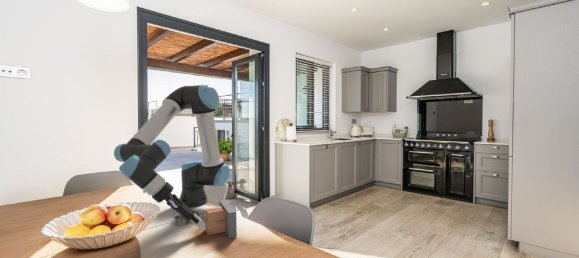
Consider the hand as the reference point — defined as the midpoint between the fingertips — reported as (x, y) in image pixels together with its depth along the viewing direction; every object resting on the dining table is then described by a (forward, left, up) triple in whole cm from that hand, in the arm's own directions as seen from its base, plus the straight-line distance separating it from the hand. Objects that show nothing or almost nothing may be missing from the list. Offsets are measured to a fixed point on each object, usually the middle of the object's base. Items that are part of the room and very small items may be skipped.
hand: (203, 226), depth 110 cm
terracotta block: (-1, +5, -3) cm, 6 cm away
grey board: (0, +10, -3) cm, 10 cm away
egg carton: (-18, -5, -4) cm, 19 cm away
